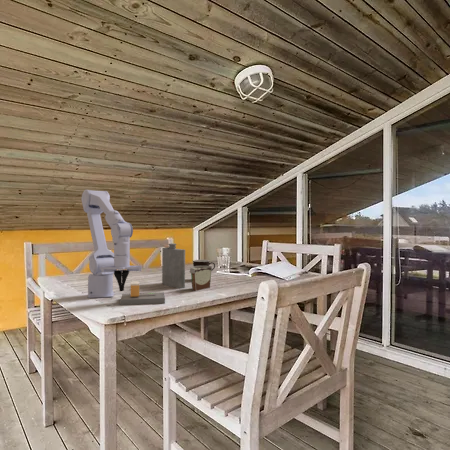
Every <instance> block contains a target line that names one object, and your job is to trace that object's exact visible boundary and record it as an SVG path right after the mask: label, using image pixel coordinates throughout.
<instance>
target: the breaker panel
mask: <svg viewBox="0 0 450 450" xmlns="http://www.w3.org/2000/svg"><path fill="white" fill-rule="evenodd" d="M165 303H166V297H165V293H164V292H163V291H162V292H139V296H137V297H131V293H122V294H121V297H120V306H131V305H133V306H134V305H154V304H155V305H159V304H161V305H162V304H165Z"/></svg>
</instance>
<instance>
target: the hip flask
mask: <svg viewBox="0 0 450 450" xmlns="http://www.w3.org/2000/svg"><path fill="white" fill-rule="evenodd" d="M176 247H177V243H168V247H165V246H164V247H162V261H161V262H162V264H161V266H162V267H161V268H162V269H161V270H162V271H161V272H162V273H161V284H162V285H164V286H167V287H172V288H177V289H185V288H186V249H182V248H176Z"/></svg>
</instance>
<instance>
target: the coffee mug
mask: <svg viewBox="0 0 450 450" xmlns="http://www.w3.org/2000/svg"><path fill="white" fill-rule="evenodd" d="M192 264H193V266H211V264H212V265H213V267H212V271H214V269H215V268H216V264H215V262H210V260H209V259H193V260H192ZM193 266H192V267H193Z"/></svg>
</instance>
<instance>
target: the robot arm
mask: <svg viewBox="0 0 450 450" xmlns="http://www.w3.org/2000/svg"><path fill="white" fill-rule="evenodd" d="M80 200H81V203H82V205H81V206H82V208H83V212H84V213H86V214H87V215H86V216H87V219H88V221H87V222H88V225H89V229H90V234H91V240H92V243H93V244H92V245H93V249H94V250H93V251H94V252H92V253H91V255H90V256H89V258H88V259H89V262H88V265H89V266H88V267H89V270H90V273H91V274H89V275H88V279H87V299H88V298H89V299H90V298H92V299H95V298H113V297H114V295H115V291H114V289H113V288H114V285H113V284H114V277H115V279H116V283H117V285H118V289H119V292H124V290H125V284H126V280H127V278H128V277H129V273H130V272H142V268H143V267H142V265H130V264H131V262H130V261H131V258H130V250H131V249H130V247H131V246H130V244H131V243H130V241H131V240H130V239H131V238H132V236H133V232H134V228H133V225H132V224H131V223H130V222H128V221H125V220H124V217H123V216H122V214H121V213H120V212H119V211H118V210H116V209H114V208H113V205H112V203H111V201H110V200H111V195H110V193H109V192H108V191H107V190H93V189H92V190H91V189H84V190H83V192H82V194H81V199H80ZM103 213H104V214H105V217H104V219H105V221H106V223H107V224H108V225H109V227H110V234H111V237H112V241H111V242H112V243H113V251H111V250H110V249H108V246H107V245H108V244H107V241H106V236H105V231H104V230H105V229H104V228H103V223H102V217H101V215H102V214H103Z"/></svg>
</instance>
